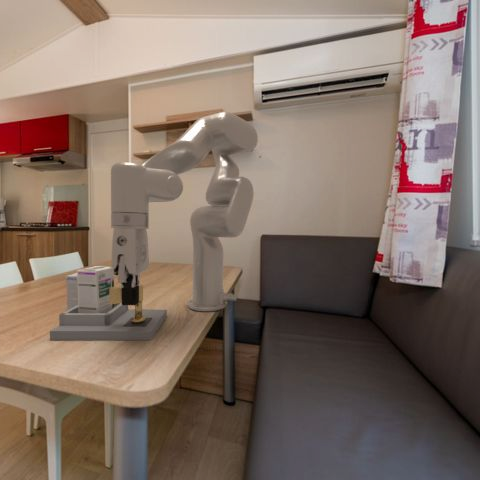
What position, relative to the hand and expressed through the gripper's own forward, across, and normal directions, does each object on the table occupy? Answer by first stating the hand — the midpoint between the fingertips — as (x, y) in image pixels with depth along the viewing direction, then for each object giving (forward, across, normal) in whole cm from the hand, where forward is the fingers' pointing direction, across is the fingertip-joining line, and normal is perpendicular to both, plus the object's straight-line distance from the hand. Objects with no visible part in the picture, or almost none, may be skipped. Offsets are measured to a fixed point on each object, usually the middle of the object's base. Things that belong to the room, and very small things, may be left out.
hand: (130, 303), depth 55 cm
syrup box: (+8, +8, +11) cm, 15 cm away
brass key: (+5, +3, +2) cm, 6 cm away
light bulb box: (+8, +21, +20) cm, 30 cm away
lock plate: (+8, +6, +5) cm, 11 cm away
